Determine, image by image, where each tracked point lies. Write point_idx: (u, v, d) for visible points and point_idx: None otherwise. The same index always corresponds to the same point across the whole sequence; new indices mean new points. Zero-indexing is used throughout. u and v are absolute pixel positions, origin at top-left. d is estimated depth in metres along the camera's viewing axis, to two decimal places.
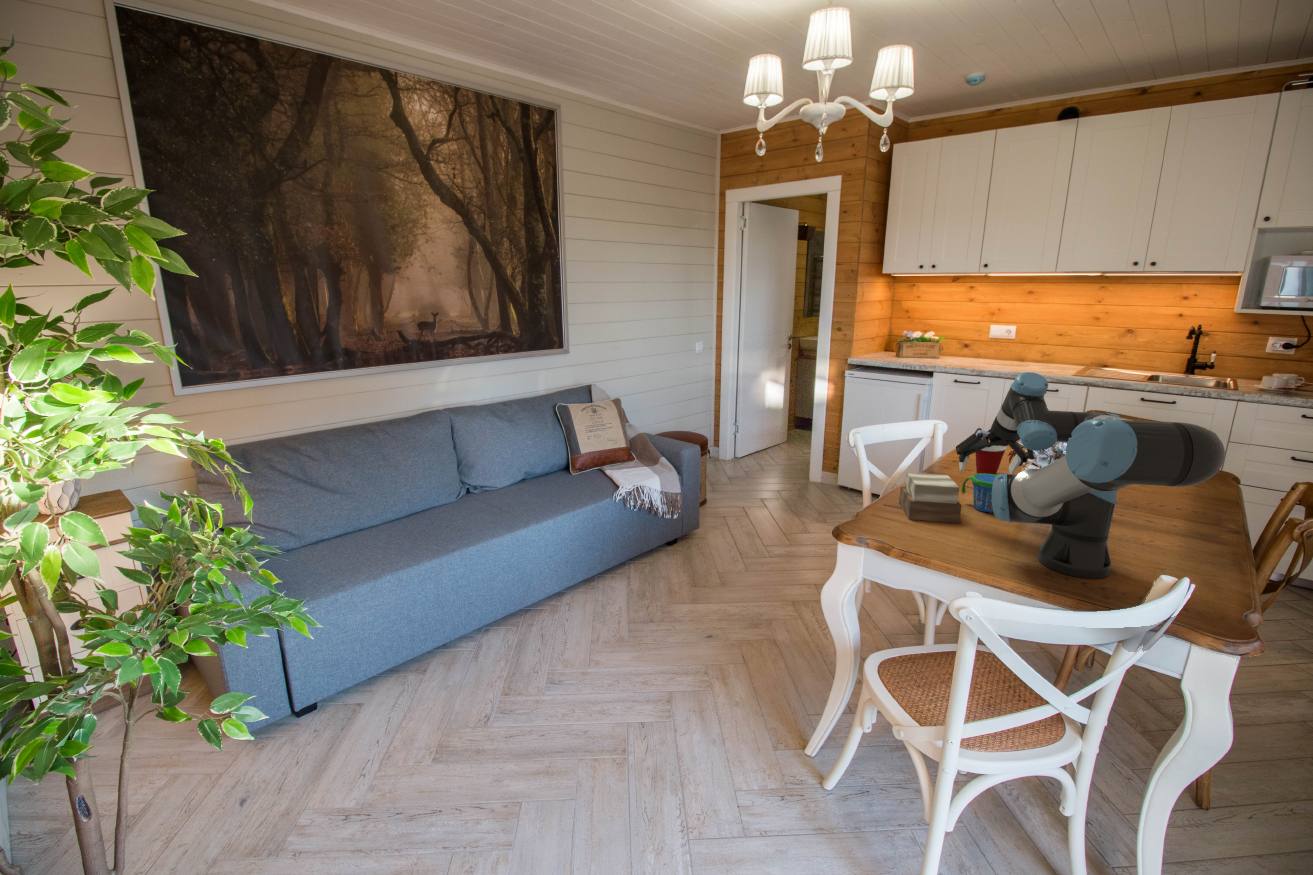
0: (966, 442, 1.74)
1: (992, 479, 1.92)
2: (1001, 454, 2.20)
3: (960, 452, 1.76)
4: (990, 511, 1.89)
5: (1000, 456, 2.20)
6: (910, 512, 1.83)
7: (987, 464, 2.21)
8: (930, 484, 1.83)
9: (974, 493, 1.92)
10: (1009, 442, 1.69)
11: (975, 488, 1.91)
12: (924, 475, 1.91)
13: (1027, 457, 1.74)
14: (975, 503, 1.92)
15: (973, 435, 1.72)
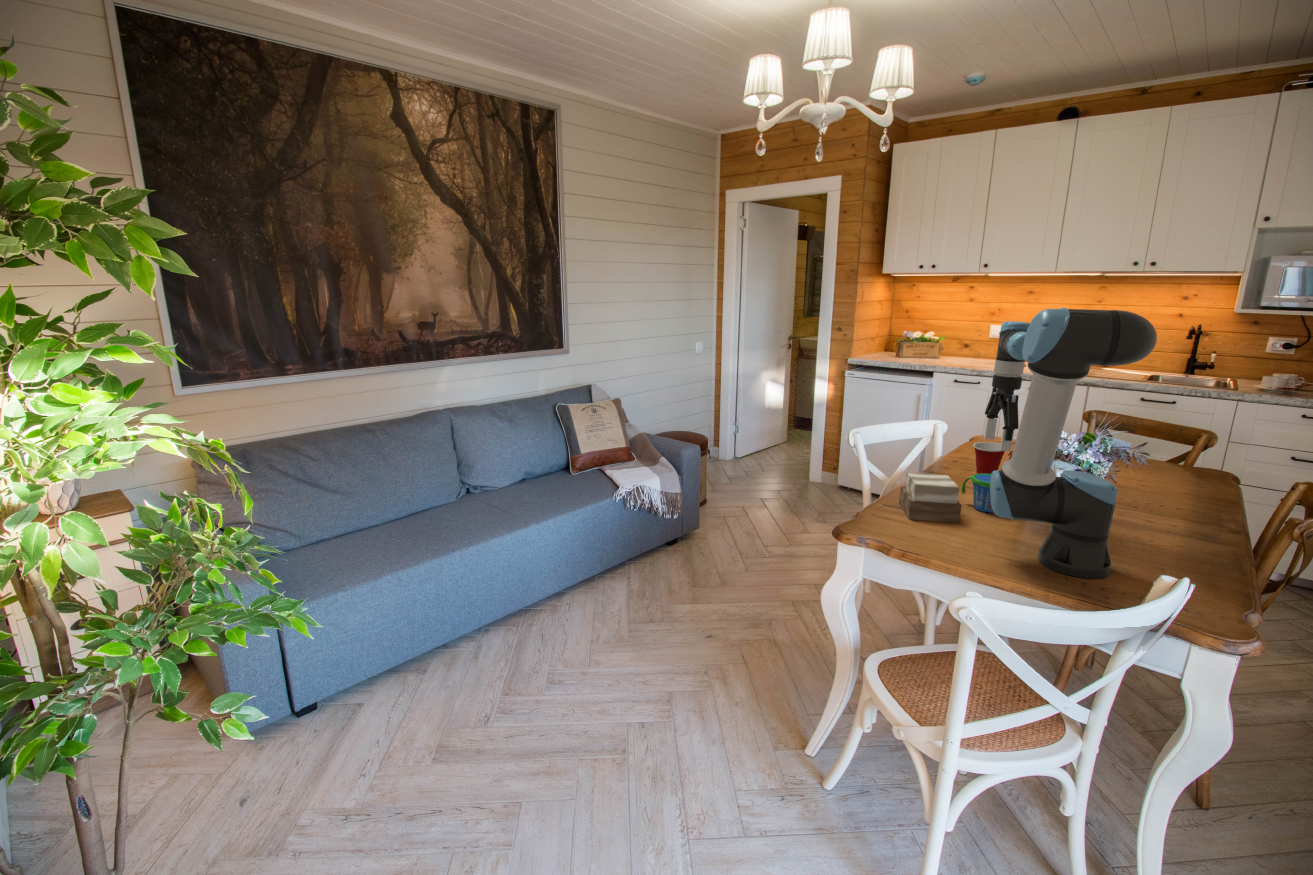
0: None
1: None
2: (1001, 454, 2.20)
3: (986, 411, 1.95)
4: (990, 511, 1.89)
5: (1000, 456, 2.20)
6: (910, 512, 1.83)
7: (987, 464, 2.21)
8: (930, 484, 1.83)
9: (974, 493, 1.92)
10: (999, 397, 1.83)
11: (975, 488, 1.91)
12: (924, 475, 1.91)
13: None
14: (975, 503, 1.92)
15: None
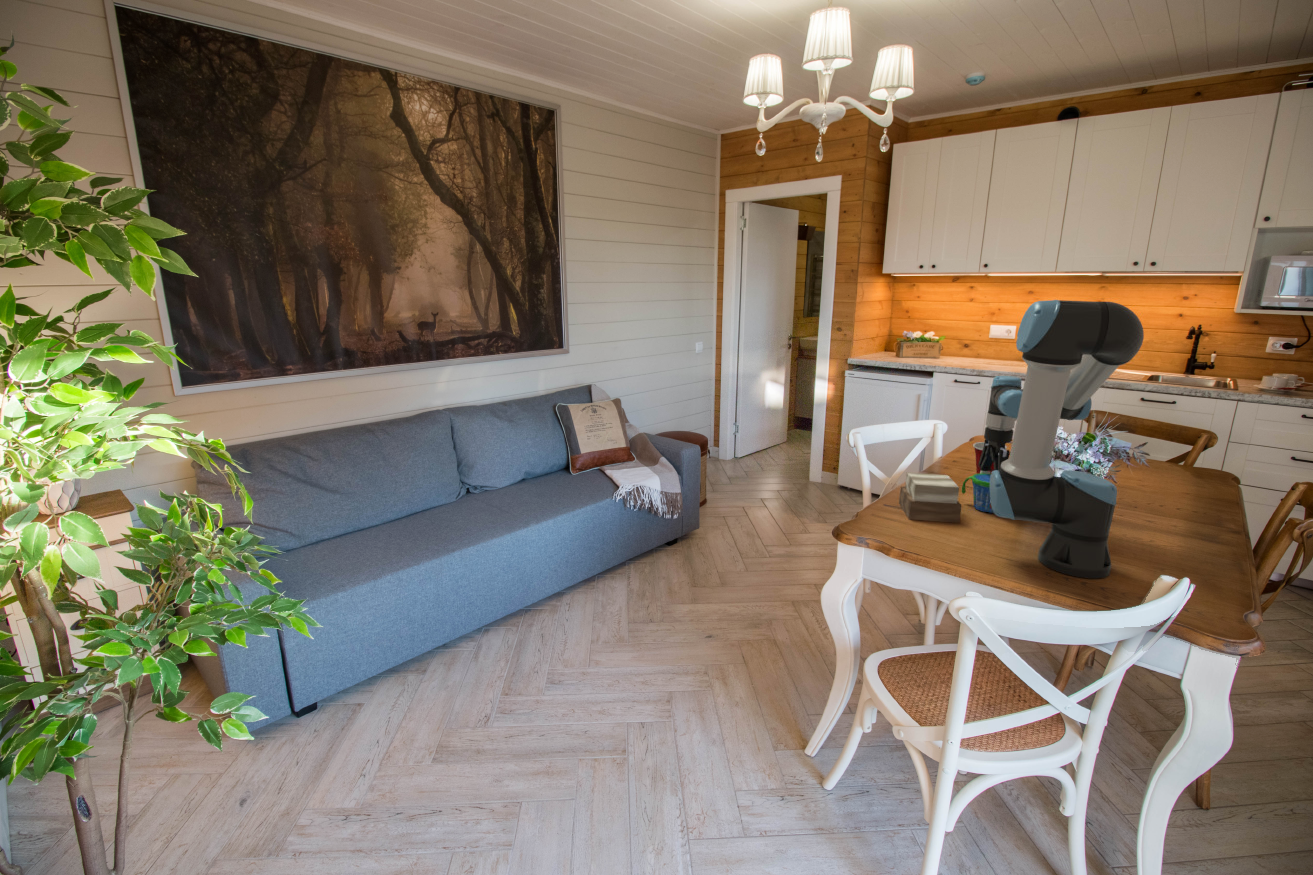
0: None
1: None
2: None
3: (979, 463, 1.98)
4: (990, 511, 1.89)
5: None
6: (910, 512, 1.83)
7: None
8: (930, 484, 1.83)
9: (974, 493, 1.92)
10: (990, 449, 1.87)
11: (975, 488, 1.91)
12: (924, 475, 1.91)
13: None
14: (975, 503, 1.92)
15: None
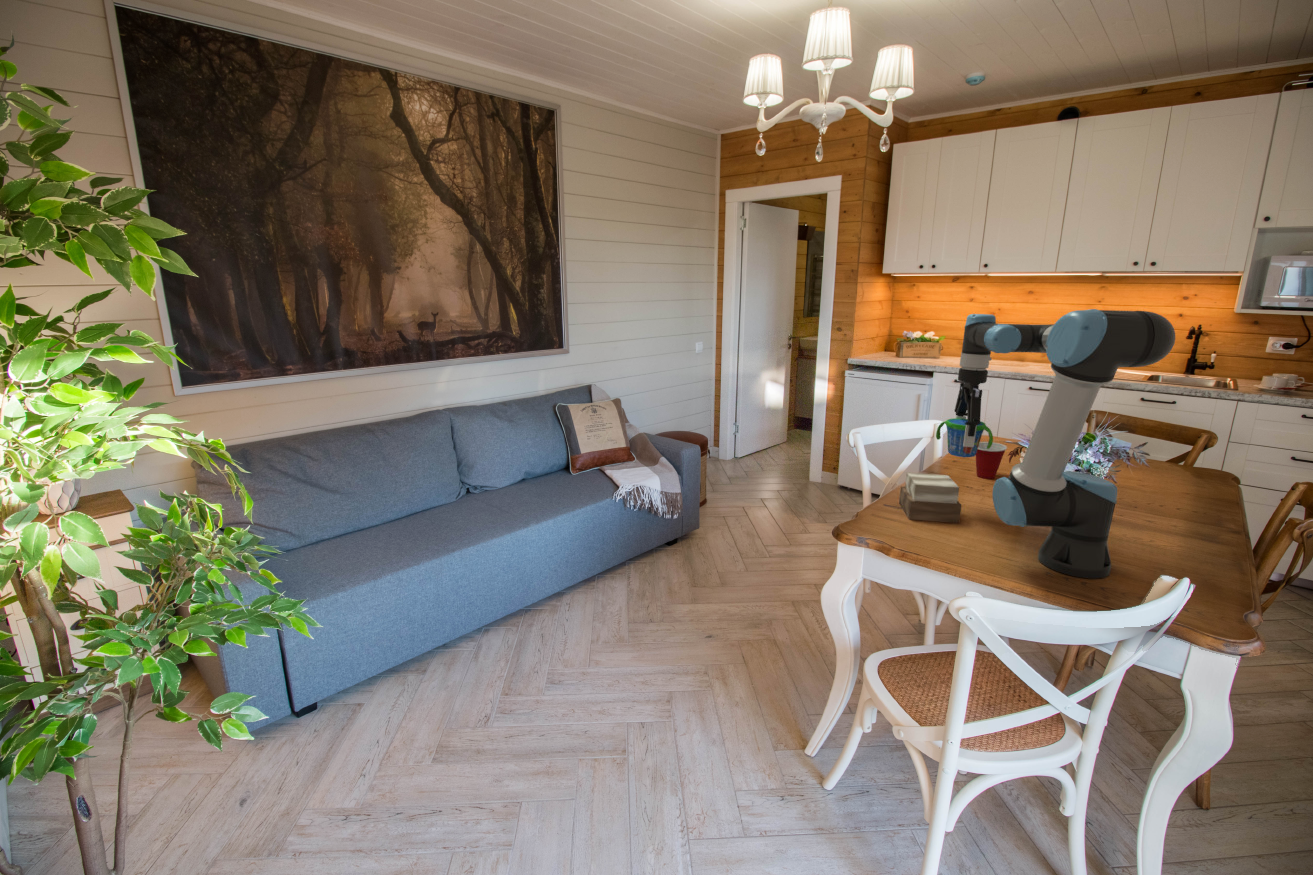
0: None
1: None
2: (1001, 454, 2.20)
3: (955, 408, 1.92)
4: (964, 455, 1.83)
5: (1000, 456, 2.20)
6: (910, 512, 1.83)
7: (987, 464, 2.21)
8: (930, 484, 1.83)
9: (948, 437, 1.86)
10: (964, 390, 1.81)
11: (949, 432, 1.85)
12: (924, 475, 1.91)
13: None
14: (949, 448, 1.86)
15: None
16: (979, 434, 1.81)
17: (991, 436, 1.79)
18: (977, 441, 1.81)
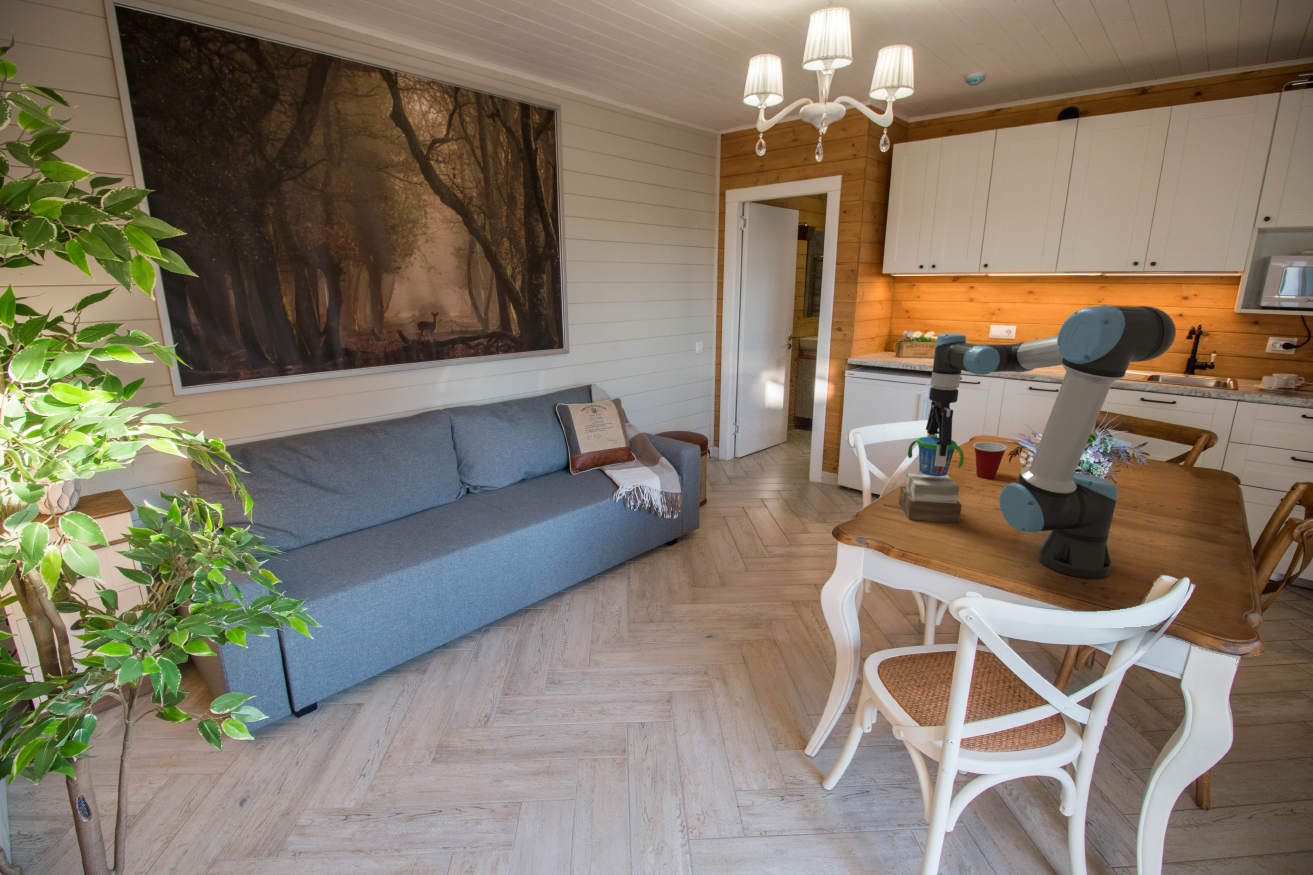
0: None
1: None
2: (1001, 454, 2.20)
3: (926, 426, 1.91)
4: (935, 475, 1.83)
5: (1000, 456, 2.20)
6: (910, 512, 1.83)
7: (987, 464, 2.21)
8: (930, 484, 1.83)
9: (920, 456, 1.85)
10: (935, 409, 1.80)
11: (920, 451, 1.84)
12: (924, 475, 1.91)
13: None
14: (921, 467, 1.86)
15: None
16: (950, 453, 1.81)
17: (962, 455, 1.79)
18: (948, 460, 1.81)
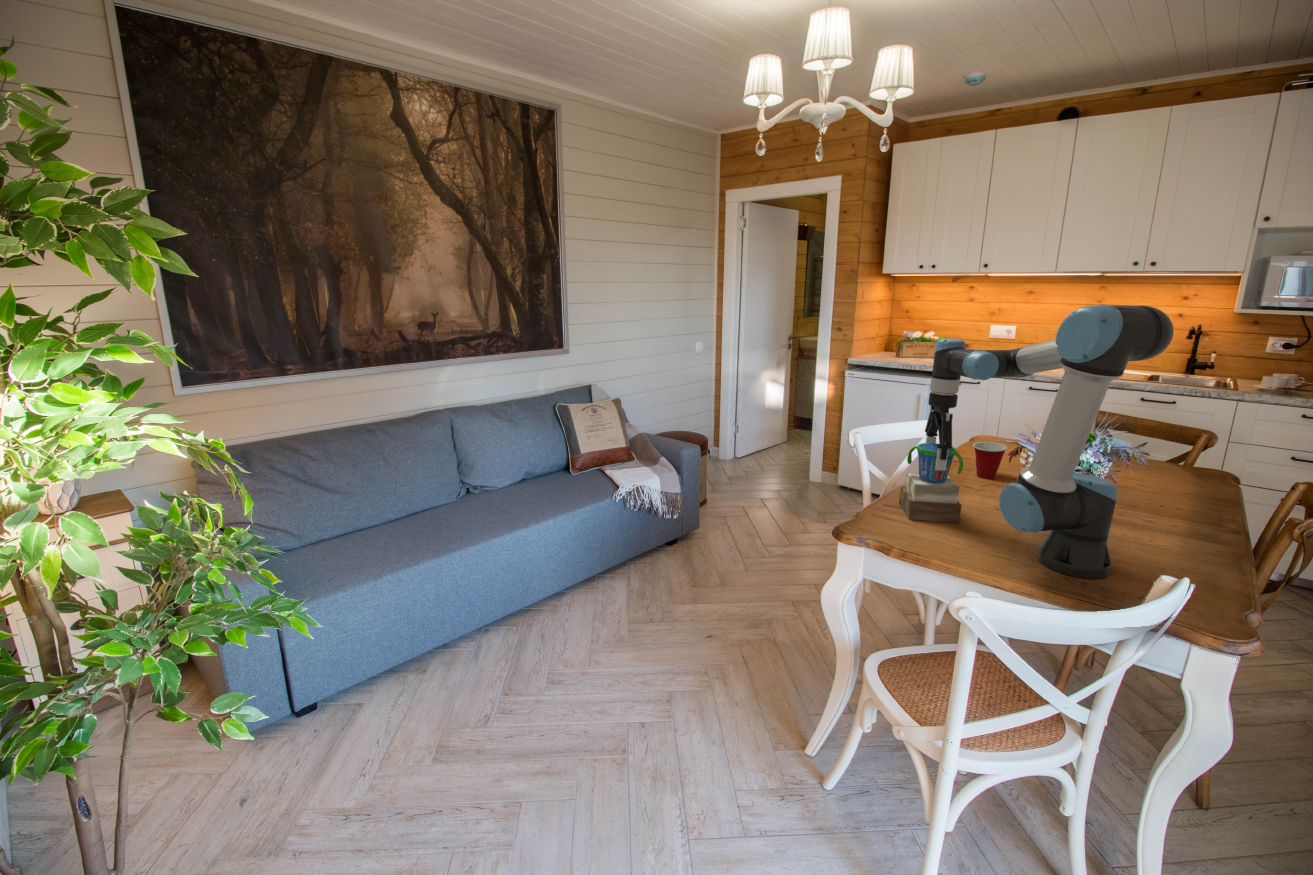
0: None
1: None
2: (1001, 454, 2.20)
3: (925, 428, 1.92)
4: (935, 481, 1.83)
5: (1000, 456, 2.20)
6: (910, 512, 1.83)
7: (987, 464, 2.21)
8: (930, 484, 1.83)
9: (919, 463, 1.86)
10: (935, 415, 1.81)
11: (920, 457, 1.85)
12: None
13: None
14: (920, 473, 1.86)
15: None
16: (950, 460, 1.81)
17: (961, 462, 1.80)
18: (947, 466, 1.82)
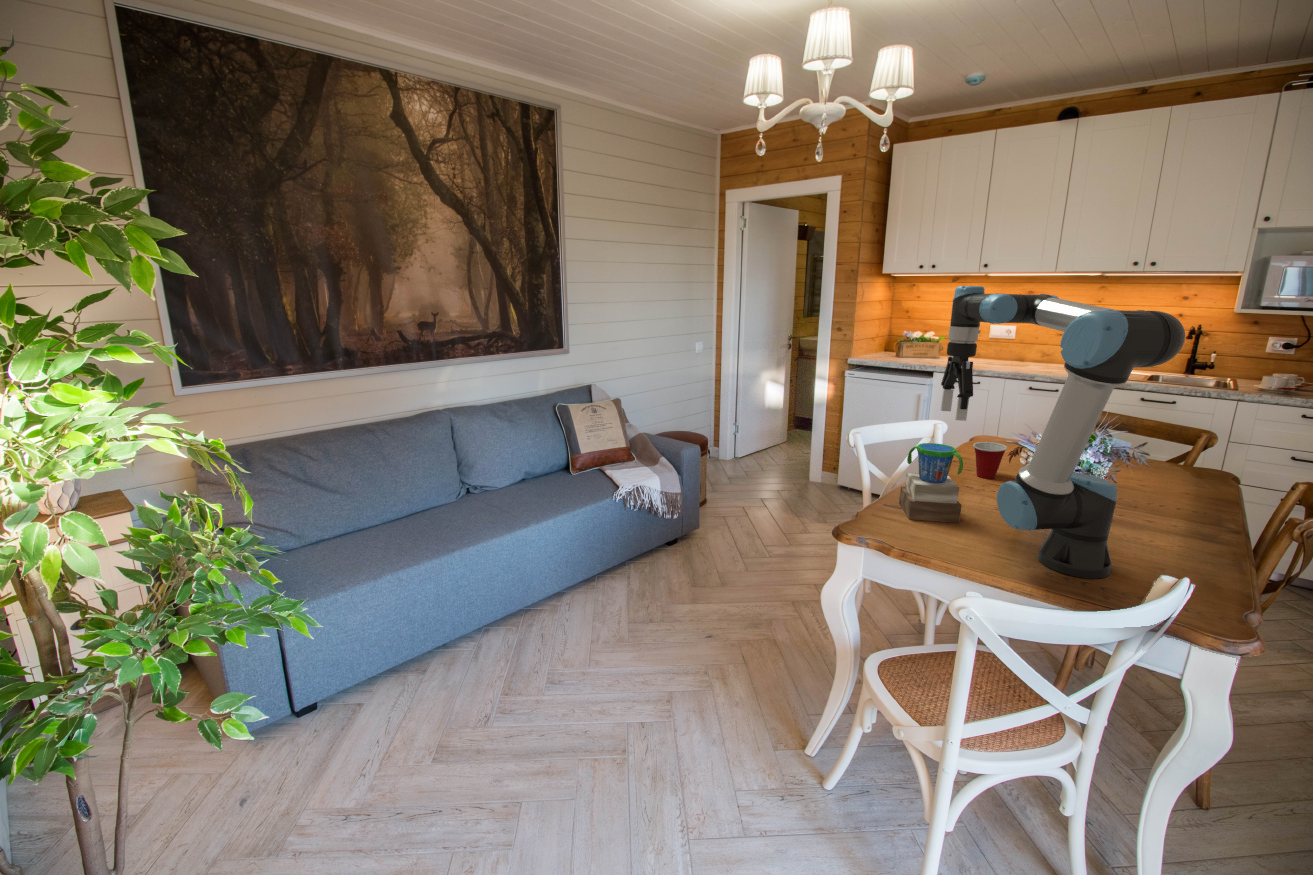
0: None
1: (938, 448, 1.85)
2: (1001, 454, 2.20)
3: (942, 382, 1.88)
4: (935, 481, 1.83)
5: (1000, 456, 2.20)
6: (910, 512, 1.83)
7: (987, 464, 2.21)
8: (930, 484, 1.83)
9: (919, 463, 1.86)
10: (953, 365, 1.76)
11: (920, 457, 1.85)
12: None
13: None
14: (920, 473, 1.86)
15: None
16: (949, 460, 1.81)
17: (961, 462, 1.80)
18: (947, 466, 1.82)
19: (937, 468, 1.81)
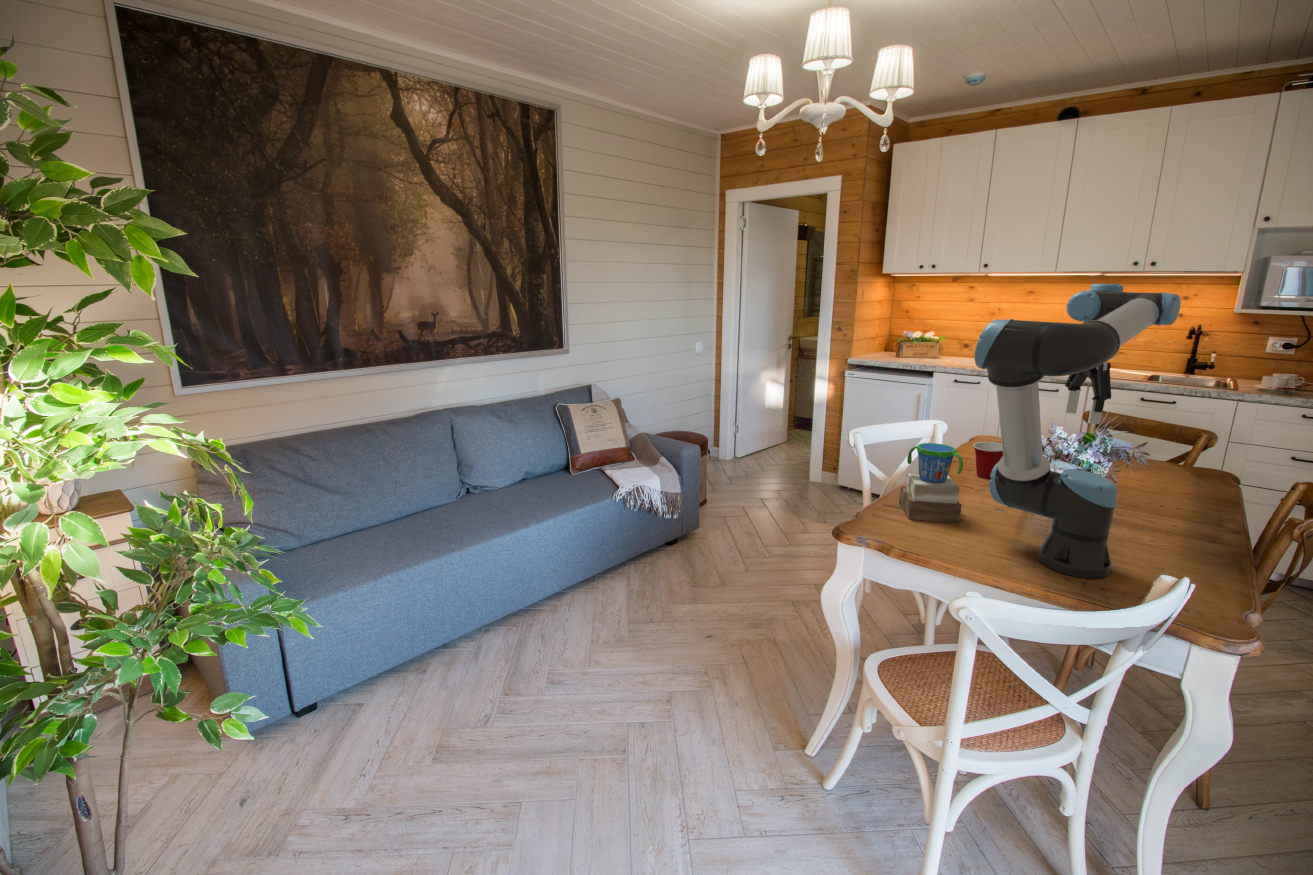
0: None
1: (938, 448, 1.85)
2: (1001, 454, 2.20)
3: (1066, 383, 1.82)
4: (935, 481, 1.83)
5: (1000, 456, 2.20)
6: (910, 512, 1.83)
7: (987, 464, 2.21)
8: (930, 484, 1.83)
9: (919, 463, 1.86)
10: None
11: (920, 457, 1.85)
12: None
13: None
14: (920, 473, 1.86)
15: None
16: (949, 460, 1.81)
17: (961, 462, 1.80)
18: (947, 466, 1.82)
19: (937, 468, 1.81)
